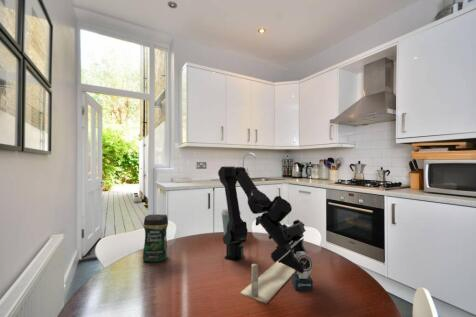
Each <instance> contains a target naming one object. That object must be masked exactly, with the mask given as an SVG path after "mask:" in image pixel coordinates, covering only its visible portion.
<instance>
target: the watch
mask: <svg viewBox="0 0 476 317" xmlns="http://www.w3.org/2000/svg"><path fill="white" fill-rule="evenodd" d="M306 253H307V252H306ZM306 253H305V252H304V251H303V252H302V251H301V252H297V253H296V254H295V257H296V259H297V260H298V262H299V263H300V265H301V266H302V268H303V270H304V272H303V273H300V272H298V271H296V272H297V273H294V274H292V276H291V284H292V286H293V289H294V290H295V291H313V290H314V286H313V284H314V282H313V278H312V277H311V276H310V274H311V271H312V269H313V265H314V262H313V261H312V259H311V258H310V257H309V255H308V253H307V254H306Z"/></svg>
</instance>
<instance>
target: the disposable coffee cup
mask: <svg viewBox="0 0 476 317" xmlns="http://www.w3.org/2000/svg"><path fill="white" fill-rule="evenodd" d="M220 212H221V213H220V214H221V218H222V228H223V229H222V230H223V236H224V235H225V234H226V233H227V225H228V222H229V214H228V208H226V209H225V208H224V209H222V210H221V211H220ZM241 214H242V213H241V211H240V215H241Z"/></svg>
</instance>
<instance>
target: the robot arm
mask: <svg viewBox="0 0 476 317" xmlns="http://www.w3.org/2000/svg"><path fill="white" fill-rule="evenodd" d="M217 175H218V178H219V181H220V183H221V184H222V186H223V187H224V192H225V199H226V200H225V201H226V206H227V209H228V214H229V222H228V225H227V233H226V234H225V235H224V234H223V237H222V240H223V241H222V242H223V244H225V245H226V247H225V248H226V249H225V250H226V253H225V254H226V255H225V256H224V259H227V260H232V261H236V262H238V261H240V260H241V259H242V258H244V256H245V254H244V252H245V251H244V246H243V243H246V241H247V237H248V232H249V230H248V227H247V222H246V221H244V220H243V219H242V217H241V214H240V212H241V211H240V204H239V200H238V199H239V198H238V193H237V192H238V191H237V186H236V185H237V182H238V184H239V186H240V188H241V190H242V191H243V192H244V194H245V195H246V197H247V205H248V207H249V210H250V212H251V213H252V214H254V215H258V216H257V217H255V226H259V225H260V226H261V227H262V228H263V229H264V230H265V231H266V233H267V234H268V237H267V238H268V239H269V240H273V242H274V243H275V245H276V247H275V248H276V249H274V250H273V251H272V252H271V253H270V259H271V260H272V261H273V262H274V263H276V262H277V261H278V262H279V263H282V264H285V265H287V266H289V267H291V268H293V269H294V270H296V272H297V271H298V272H300V273H303V272H304V270H303V268H302V266H301V265H300V263H299V262H298V260H297V259H296V253H297V252H301V251H302V252H303V251H304V252H305V253H306V254H307V255H308V253H307V251H306V249H305V246H304V240H305V239H304V236H305V235H304V233H305V232H306V228H305V223H303V221H300V220H299V219H296V220H293V222H292V224H291V225H289V226H287V224H285V223H283V224H282V221H283V220H284V219H285V218H286V217H287V216H288V215H289V214H290V213H291V212H292V210H293V209H292V205H291V203H290V202H288V201H287V200H286V199H285V198H282V197H281V195H276V196H274V198H273V200H271V199H270V198H269V197H268V196H267V195H266V193H263V192H262V191H261V190H259V189H258V188H257V186H256V185H255V183H254V182H253V180H252V178H251V177H250V176H249V174H248V173H247V170H246V168H245V167H243V166H232V165H231V166H228V165H227V166H225V165H224V166H221V167H220V169H218V171H217ZM259 214H261V215H259Z"/></svg>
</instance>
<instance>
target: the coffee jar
mask: <svg viewBox="0 0 476 317" xmlns="http://www.w3.org/2000/svg"><path fill="white" fill-rule="evenodd" d="M143 219H144V221H143V229H144V245H143V252H142V253H143V254H142V260H143V261H144V262H146V261H147V262H148V261H149V262H150V263H151V262H152V263H156V262H157V263H158V262H159V261H160V262H163V261H165V260H166V259H167V258H168V257H169V256H168V255H169V254H168V240H167V230H168V226H169V221H168V219H169V218H168V215H167V214H157V213H156V214H147V215H145V216H144V218H143ZM147 262H146V263H147ZM149 262H148V263H149Z"/></svg>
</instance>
